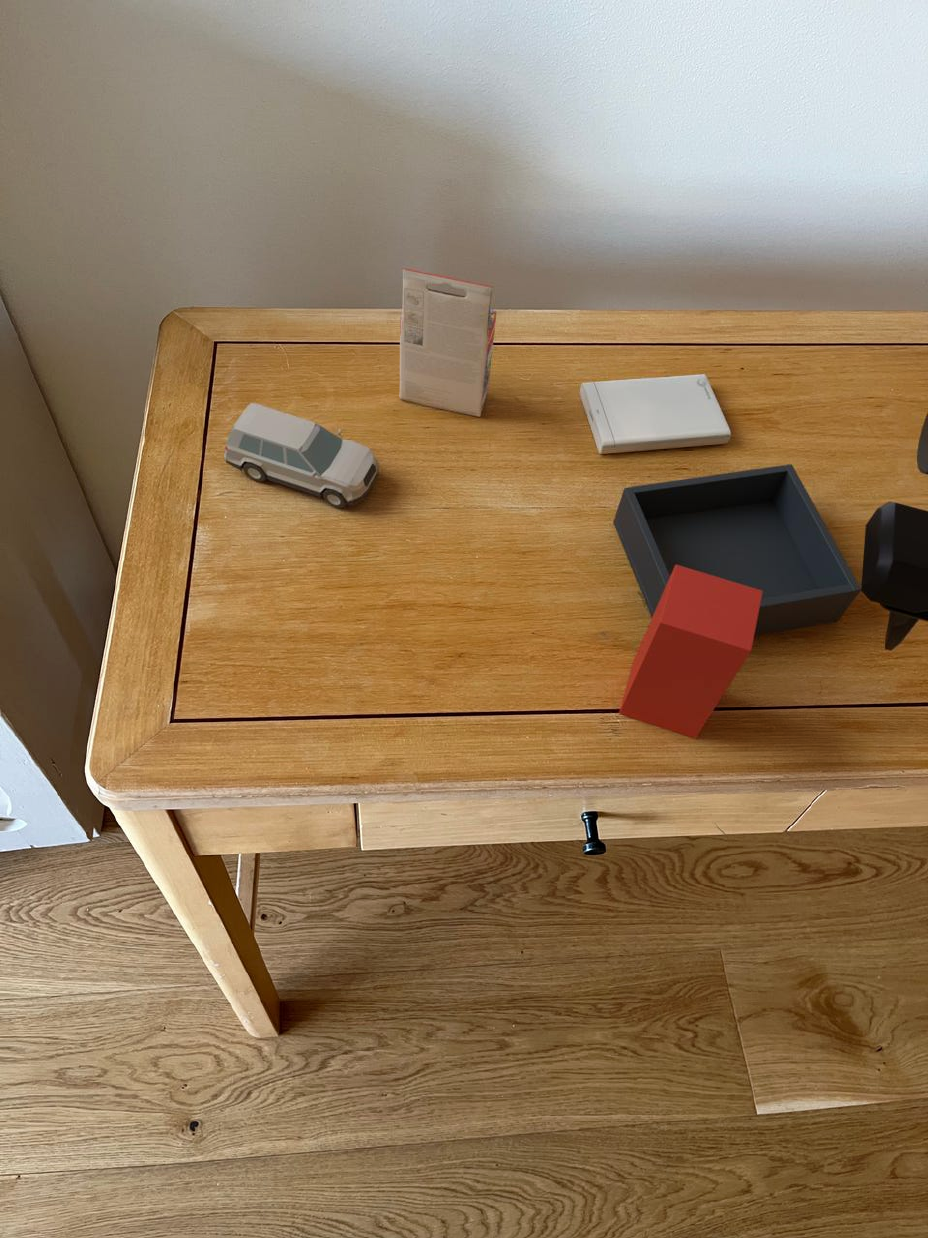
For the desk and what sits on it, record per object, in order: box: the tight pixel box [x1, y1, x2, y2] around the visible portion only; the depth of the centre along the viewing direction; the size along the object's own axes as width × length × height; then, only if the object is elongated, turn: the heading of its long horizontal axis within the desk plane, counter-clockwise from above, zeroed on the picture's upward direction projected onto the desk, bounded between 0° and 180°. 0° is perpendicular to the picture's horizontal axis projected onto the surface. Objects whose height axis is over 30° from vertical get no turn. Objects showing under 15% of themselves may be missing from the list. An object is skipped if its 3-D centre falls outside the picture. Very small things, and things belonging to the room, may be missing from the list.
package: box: [618, 565, 763, 739], centre depth 66 cm, size 6×5×13 cm
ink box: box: [399, 267, 497, 418], centre depth 82 cm, size 4×8×15 cm, turn 77°
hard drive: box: [579, 373, 732, 455], centre depth 88 cm, size 2×8×12 cm
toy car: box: [223, 402, 380, 509], centre depth 80 cm, size 6×13×5 cm, turn 70°
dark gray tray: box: [613, 463, 862, 637], centre depth 77 cm, size 15×13×5 cm
